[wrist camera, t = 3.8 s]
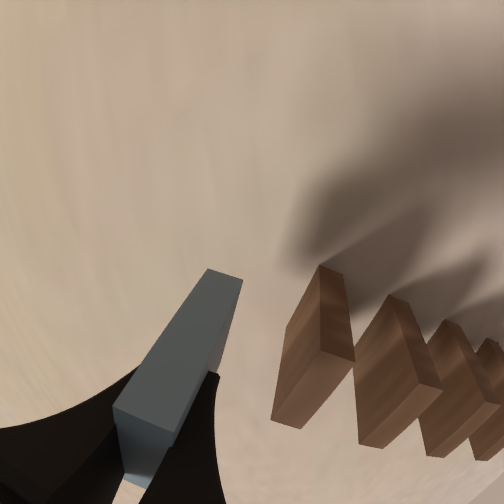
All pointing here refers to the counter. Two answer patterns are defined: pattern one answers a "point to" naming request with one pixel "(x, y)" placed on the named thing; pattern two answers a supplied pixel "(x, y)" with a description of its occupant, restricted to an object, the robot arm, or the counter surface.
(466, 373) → the domino
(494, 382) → the domino
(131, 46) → the counter surface
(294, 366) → the domino
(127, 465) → the domino
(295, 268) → the counter surface
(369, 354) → the domino
